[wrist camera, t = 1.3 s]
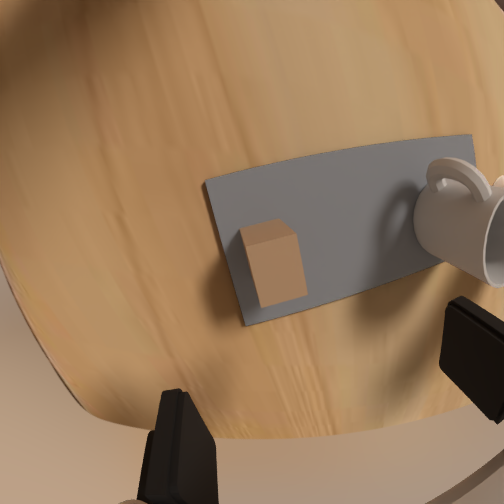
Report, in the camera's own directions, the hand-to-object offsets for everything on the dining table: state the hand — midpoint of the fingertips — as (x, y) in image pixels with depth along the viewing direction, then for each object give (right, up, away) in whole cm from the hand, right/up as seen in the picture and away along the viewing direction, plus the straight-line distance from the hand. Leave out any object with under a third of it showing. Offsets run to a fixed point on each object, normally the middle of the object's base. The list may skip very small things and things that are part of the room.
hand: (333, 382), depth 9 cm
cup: (+14, +9, +14) cm, 22 cm away
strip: (+8, +7, +14) cm, 18 cm away
